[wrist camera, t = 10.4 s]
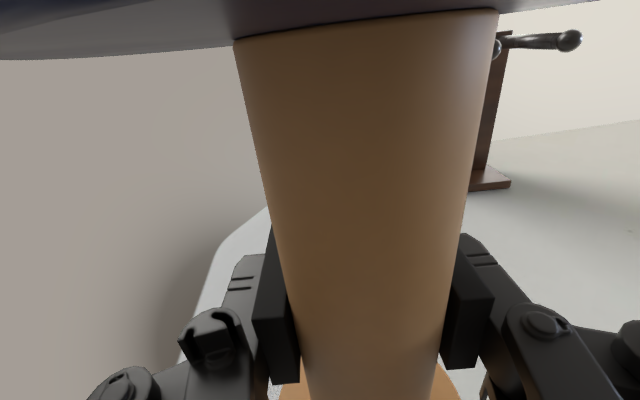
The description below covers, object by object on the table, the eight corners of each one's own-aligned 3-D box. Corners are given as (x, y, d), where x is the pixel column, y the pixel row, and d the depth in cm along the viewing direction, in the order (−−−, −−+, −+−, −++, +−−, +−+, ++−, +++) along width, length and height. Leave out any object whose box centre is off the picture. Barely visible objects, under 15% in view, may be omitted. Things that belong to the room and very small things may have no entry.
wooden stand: (547, 214, 29) (614, 21, 21) (441, 225, 29) (465, 39, 21) (466, 156, 44) (486, 31, 36) (396, 164, 44) (400, 41, 36)
